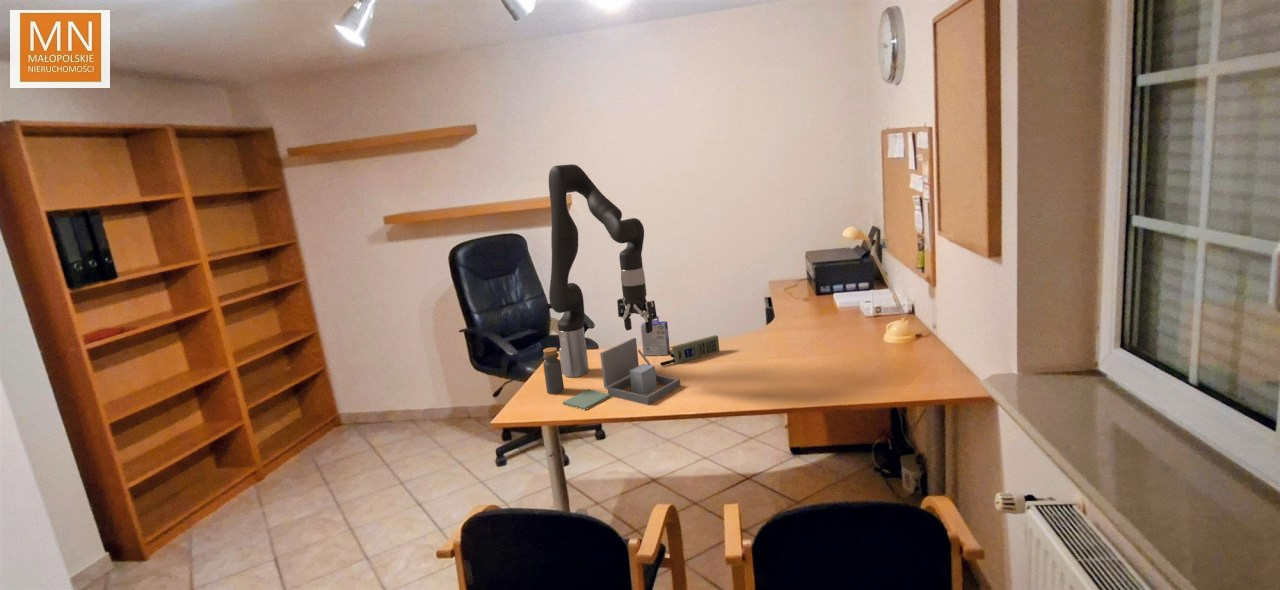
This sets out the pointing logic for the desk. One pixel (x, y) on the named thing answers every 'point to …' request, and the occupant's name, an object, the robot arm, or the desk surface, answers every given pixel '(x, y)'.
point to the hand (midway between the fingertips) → (638, 331)
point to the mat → (586, 399)
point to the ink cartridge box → (655, 339)
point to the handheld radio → (693, 350)
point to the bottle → (552, 371)
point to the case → (618, 373)
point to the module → (643, 379)
